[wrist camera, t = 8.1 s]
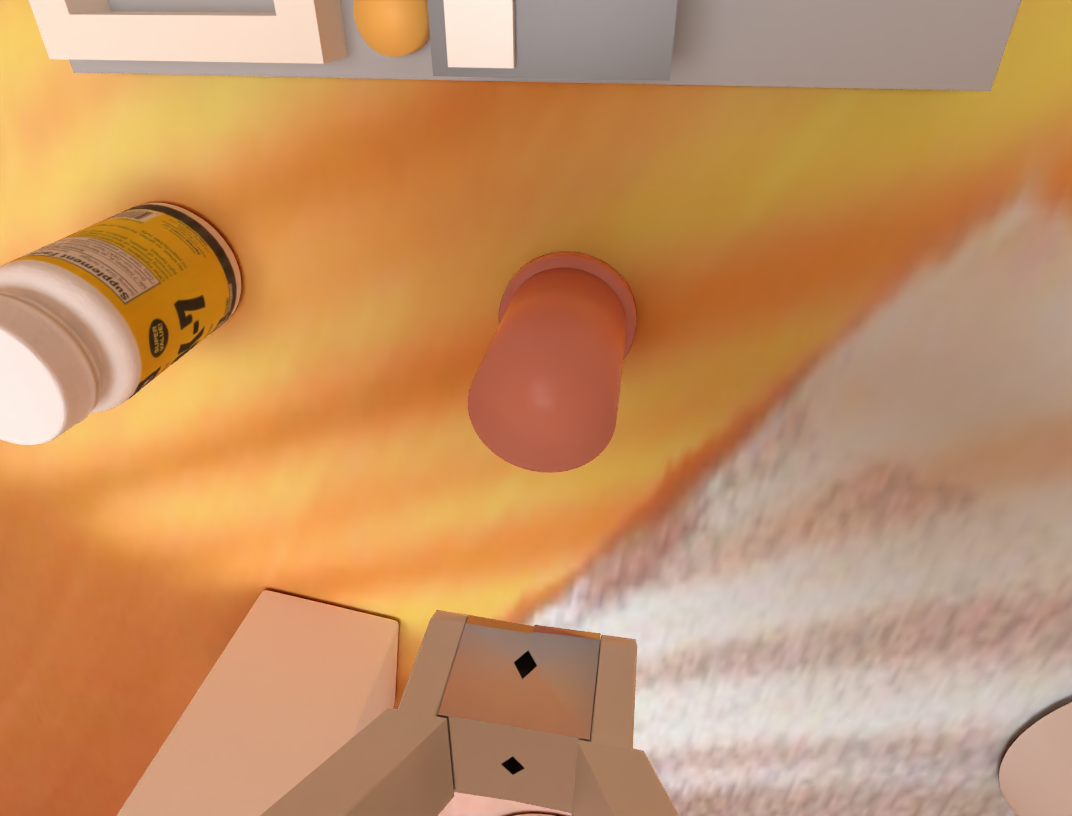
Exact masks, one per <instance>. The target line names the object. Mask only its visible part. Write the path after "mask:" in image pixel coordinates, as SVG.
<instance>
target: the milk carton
mask: <svg viewBox="0 0 1072 816" xmlns="http://www.w3.org/2000/svg"><path fill="white" fill-rule="evenodd" d="M398 631H399V624H398V622H397V621H395V620H392V619H388V618H384V617H379V616H375V615H371V614H367V613H362V612H358V611H354V610H350V609H345V608H341V607H337V606H333V605H329V604H324V603H320V602H316V601H312V600H307V599H303V598H299V597H295V596H290V595H286V594H282V593H278V592H273V591H268V590H264V591H263V592H262V593H261V594H260V596H259V597H258V599H257V600H256V602H255V603H254V605H253V606H252V608H251V609H250V611H249V612H248V614H247V616H246V617H245V619H244V620H243V622H242V623H241V625H240V626H239V628H238V629H237V631H236V632H235V634H234V636H233V637H232V639H231V640H230V642H229V643H228V645H227V646H226V648H225V649H224V651H223V653H222V654H221V656H220V657H219V659H218V660H217V662H216V663H215V665H214V666H213V668H212V669H211V671H210V673H209V674H208V676H207V677H206V679H205V680H204V682H203V683H202V685H201V686H200V688H199V690H198V691H197V693H196V694H195V696H194V697H193V699H192V700H191V702H190V703H189V705H188V706H187V708H186V710H185V711H184V713H183V714H182V716H181V717H180V719H179V720H178V722H177V723H176V725H175V726H174V728H173V730H172V731H171V733H170V734H169V736H168V737H167V739H166V740H165V742H164V743H163V745H162V747H161V748H160V750H159V751H158V753H157V754H156V756H155V757H154V759H153V760H152V762H151V763H150V765H149V767H148V768H147V770H146V771H145V773H144V774H143V776H142V777H141V779H140V780H139V782H138V783H137V785H136V787H135V788H134V790H133V791H132V793H131V794H130V796H129V797H128V799H127V800H126V802H125V804H124V805H123V807H122V808H121V810H120V811H119V813H118V814H117V816H260V815H261V814H263V813H264V812H265V811H266V810H267V809H269V808H270V807H271V806H272V805H273V804H274V803H276V802H277V801H278V800H279V799H280V798H282V797H283V796H284V795H285V794H286V793H287V792H289V791H290V790H291V789H292V788H293V787H295V786H296V785H297V784H298V783H299V782H300V781H302V780H303V779H304V778H305V777H306V776H308V775H309V774H310V773H311V772H312V771H313V770H315V769H316V768H317V767H318V766H319V765H321V764H322V763H323V762H324V761H325V760H327V759H328V758H329V757H330V756H331V755H332V754H334V753H335V752H336V751H337V750H338V749H340V748H341V747H342V746H343V745H344V744H345V743H347V742H348V741H349V740H350V739H351V738H353V737H354V736H355V735H356V734H357V733H358V732H360V731H361V730H362V729H363V728H364V727H366V726H367V725H368V724H369V723H370V722H371V721H373V720H374V719H375V718H376V717H377V716H379V715H380V714H381V713H382V712H383V711H384V710H386V709H387V708H391V709H393V707H394V704H395V692H396V672H397V651H398Z"/></svg>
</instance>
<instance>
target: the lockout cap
mask: <svg viewBox="0 0 1072 816" xmlns="http://www.w3.org/2000/svg"><path fill="white" fill-rule="evenodd" d="M635 330H636V306H635V302H634V298H633V295H632V293H631V291H630V289H629V287H628V285H627V284H626V282H625V281H624V279H623V278H622V277H621V276H620V275H619V274H618V273H617V272H616V271H615V270H614V269H613V268H612V267H610V266H609V265H608V264H606V263H605V262H603V261H601V260H599V259H597V258H595V257H592V256H590V255H586V254H582V253H577V252H555V253H550V254H546V255H543V256H540V257H538V258H536V259H534V260H532V261H530V262H529V263H527V264H526V265H525V266H523V267H522V268H521V269H520V270H519V271H518V272H517V273H516V274H515V275H514V277H513V278H512V280H511V281H510V283H509V285H508V287H507V289H506V291H505V293H504V295H503V297H502V300H501V303H500V308H499V327H498V329H497V331H496V333H495V335H494V337H493V340H492V342H491V344H490V346H489V348H488V350H487V352H486V354H485V357H484V359H483V361H482V363H481V365H480V367H479V369H478V371H477V374H476V376H475V378H474V380H473V382H472V385H471V388H470V391H469V397H468V410H469V416H470V419H471V422H472V425H473V427H474V429H475V431H476V433H477V434H478V436H479V438H480V439H481V440H482V441H483V443H484V444H485V445H486V446H487V447H488V448H489V449H490V450H491V451H492V452H494V453H495V454H496V455H497V456H499V457H500V458H502V459H504V460H505V461H507V462H509V463H511V464H513V465H515V466H518V467H521V468H524V469H528V470H531V471H538V472H562V471H568V470H571V469H575V468H578V467H580V466H582V465H585V464H586V463H588V462H590V461H592V460H593V459H594V458H595V457H597V456H598V455H599V454H600V453H601V452H602V451H603V450H604V449H605V447H606V446H607V445H608V443H609V441H610V439H611V438H612V436H613V432H614V429H615V425H616V417H617V409H618V400H619V391H620V382H621V373H622V364H623V360H624V358H625V357H626V355H627V354H628V352H629V350H630V348H631V346H632V343H633V340H634V336H635Z"/></svg>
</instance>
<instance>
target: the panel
mask: <svg viewBox="0 0 1072 816" xmlns="http://www.w3.org/2000/svg"><path fill="white" fill-rule="evenodd" d="M29 2H30V5H31V8H32V11H33V14H34V16H35V19H36V22H37V25H38V28H39V30H40V33H41V36H42V39H43V41H44V44H45V47H46V50H47V53H48V55H49V58H50V59H69V60H70V63H71V66H72V69H73V72H74V73H120V74H169V75H219V76H268V77H318V78H368V79H417V80H467V81H516V82H566V83H616V84H665V85H715V86H764V87H814V88H864V89H913V90H963V91H991V88H992V85H993V82H994V79H995V76H996V73H997V70H998V67H999V65H1000V62H1001V59H1002V56H1003V53H1004V50H1005V47H1006V44H1007V41H1008V38H1009V35H1010V32H1011V29H1012V26H1013V23H1014V20H1015V17H1016V14H1017V11H1018V8H1019V5H1020V2H1021V0H678V1H677V11H676V21H675V32H674V42H673V52H672V63H671V73H670V81H656V80H604V79H553V78H501V77H450V76H433V69H432V56H431V43H430V30H429V18H428V5H427V0H29Z"/></svg>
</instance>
